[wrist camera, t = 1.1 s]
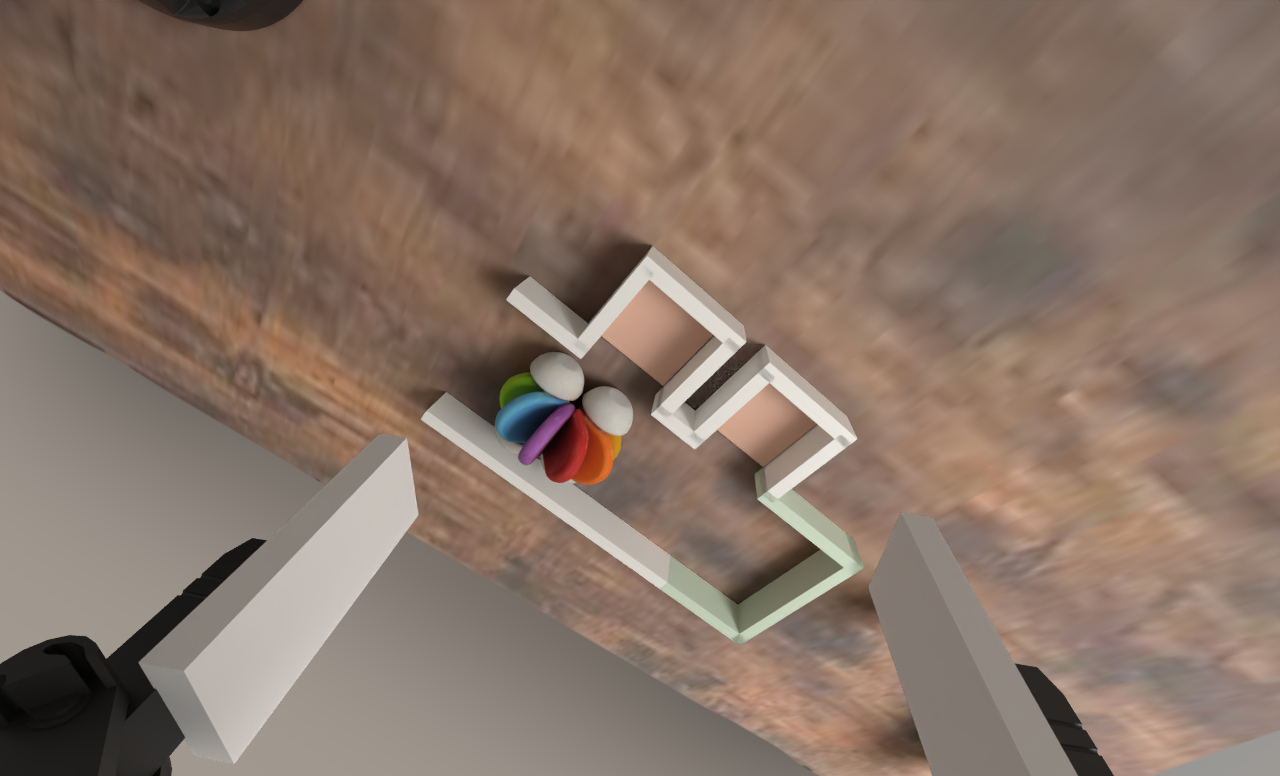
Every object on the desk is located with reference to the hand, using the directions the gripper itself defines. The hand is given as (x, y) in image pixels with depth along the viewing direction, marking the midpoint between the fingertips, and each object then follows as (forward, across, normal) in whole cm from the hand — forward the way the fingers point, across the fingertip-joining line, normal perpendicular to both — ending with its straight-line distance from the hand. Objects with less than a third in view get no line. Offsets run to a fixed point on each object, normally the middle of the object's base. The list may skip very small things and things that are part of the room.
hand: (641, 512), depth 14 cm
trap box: (+22, +1, -12) cm, 25 cm away
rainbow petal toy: (+22, -7, -11) cm, 26 cm away
